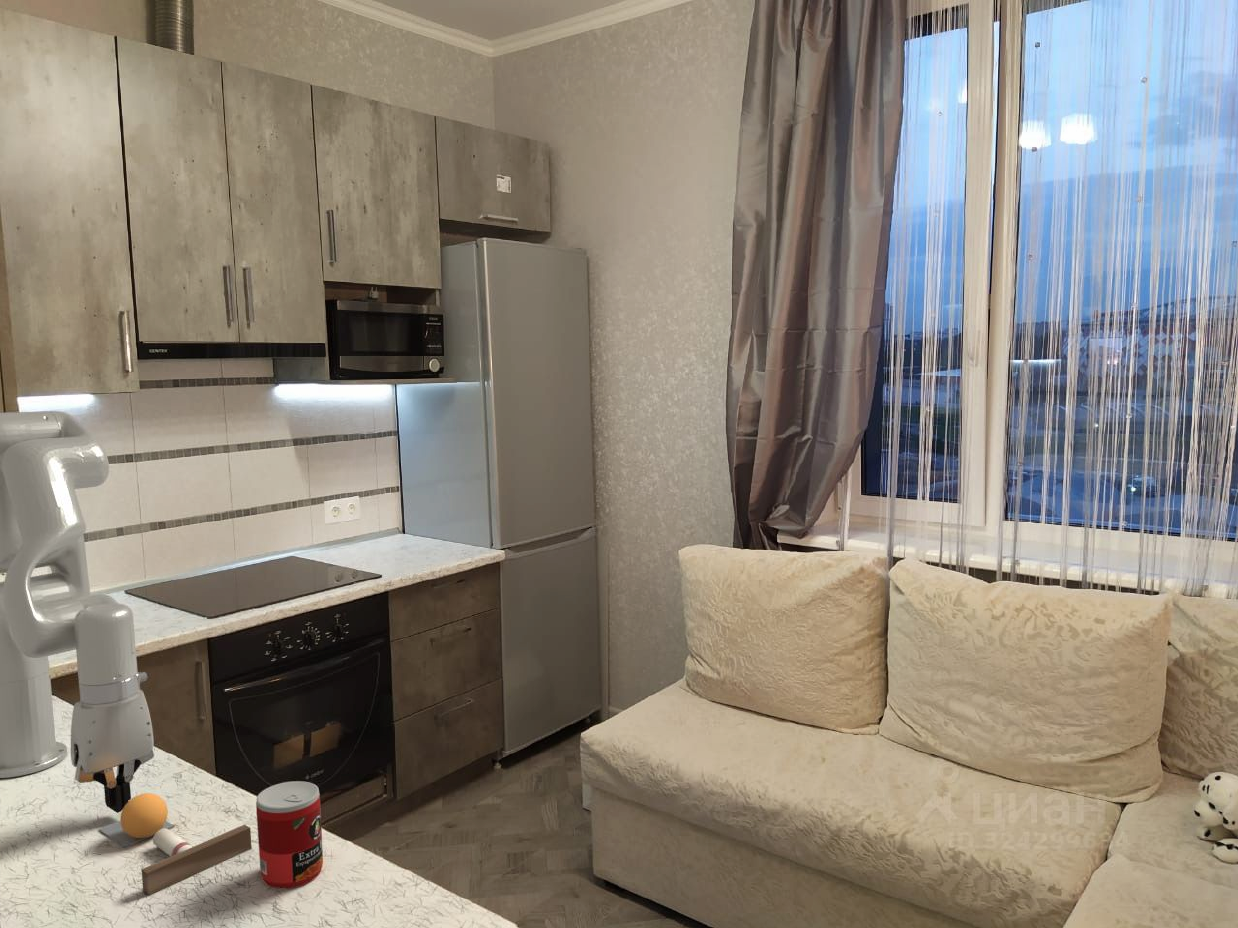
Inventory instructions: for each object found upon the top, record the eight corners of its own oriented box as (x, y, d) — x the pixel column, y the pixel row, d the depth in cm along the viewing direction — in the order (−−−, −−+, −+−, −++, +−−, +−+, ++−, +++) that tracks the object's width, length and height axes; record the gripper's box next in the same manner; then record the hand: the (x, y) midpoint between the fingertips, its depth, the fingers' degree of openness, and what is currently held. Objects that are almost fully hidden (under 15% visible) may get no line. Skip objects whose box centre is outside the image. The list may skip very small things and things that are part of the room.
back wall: (143, 891, 115) (141, 869, 115) (245, 844, 126) (244, 824, 126) (148, 895, 114) (147, 873, 114) (251, 848, 125) (250, 827, 125)
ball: (133, 822, 124) (131, 854, 126) (176, 803, 128) (174, 834, 130) (113, 795, 127) (112, 827, 129) (156, 777, 131) (154, 809, 134)
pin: (151, 832, 125) (179, 853, 119) (169, 824, 127) (197, 844, 121) (153, 849, 125) (181, 870, 120) (172, 841, 127) (200, 861, 122)
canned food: (304, 892, 114) (299, 810, 113) (247, 886, 116) (242, 805, 115) (334, 860, 122) (330, 782, 120) (281, 854, 123) (277, 778, 122)
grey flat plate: (99, 830, 131) (98, 828, 131) (148, 811, 136) (148, 809, 136) (124, 847, 126) (124, 845, 126) (174, 826, 131) (174, 825, 131)
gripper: (149, 670, 140) (157, 782, 142) (42, 698, 129) (53, 821, 130) (172, 679, 136) (181, 795, 138) (64, 710, 124) (75, 836, 126)
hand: (118, 807), depth 134 cm, fingers closed
